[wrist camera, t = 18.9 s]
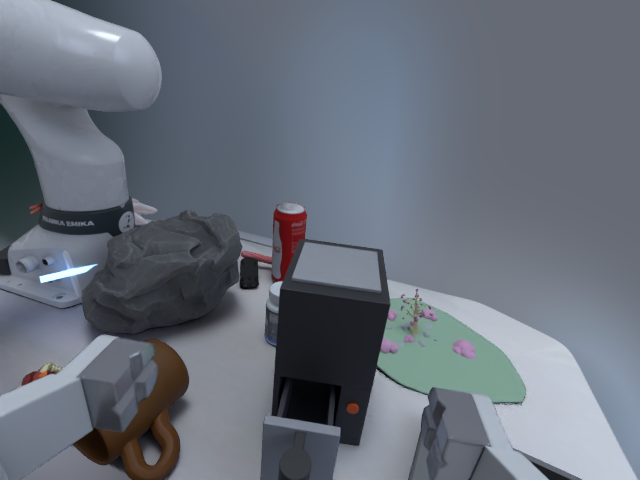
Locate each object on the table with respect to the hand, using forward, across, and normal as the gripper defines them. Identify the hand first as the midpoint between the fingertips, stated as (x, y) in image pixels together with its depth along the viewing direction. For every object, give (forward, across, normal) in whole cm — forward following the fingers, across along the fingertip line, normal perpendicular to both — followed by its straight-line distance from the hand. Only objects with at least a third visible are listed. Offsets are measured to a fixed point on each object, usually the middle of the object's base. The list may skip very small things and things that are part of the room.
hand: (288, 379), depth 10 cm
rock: (+34, -23, -26) cm, 49 cm away
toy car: (+47, -15, -24) cm, 54 cm away
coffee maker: (+23, +1, -26) cm, 34 cm away
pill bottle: (+32, -6, -26) cm, 42 cm away
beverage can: (+48, -8, -26) cm, 55 cm away
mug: (+20, -14, -23) cm, 34 cm away
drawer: (+14, 0, -25) cm, 28 cm away
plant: (+35, +17, -26) cm, 47 cm away
